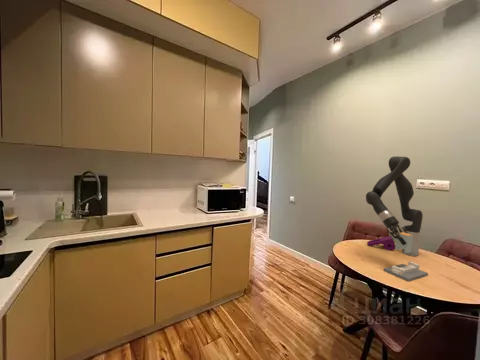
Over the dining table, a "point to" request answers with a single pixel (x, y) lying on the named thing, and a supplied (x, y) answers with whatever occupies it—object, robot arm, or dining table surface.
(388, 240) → the mounting bracket
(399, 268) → the mounting board
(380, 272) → the dining table surface
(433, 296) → the dining table surface
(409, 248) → the plate
